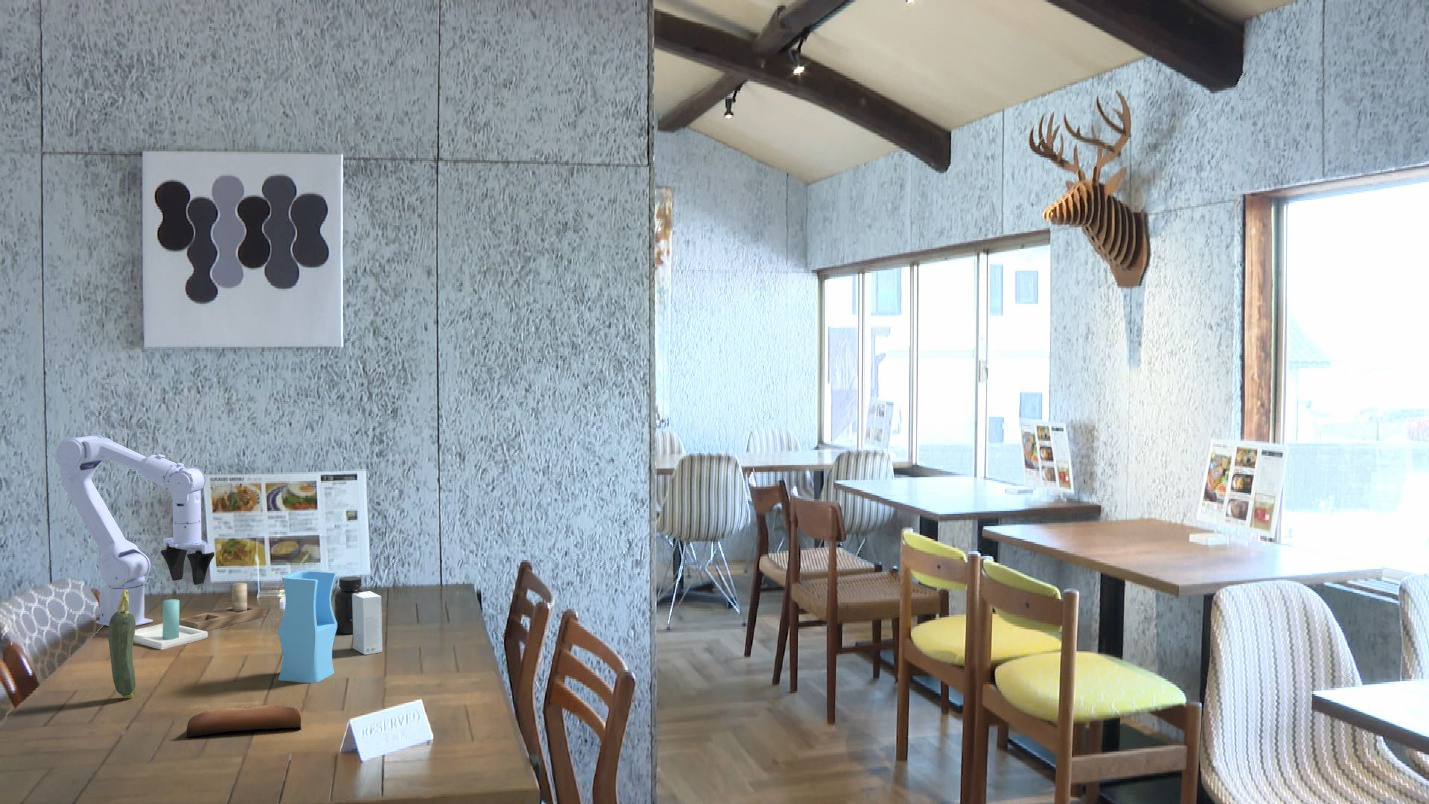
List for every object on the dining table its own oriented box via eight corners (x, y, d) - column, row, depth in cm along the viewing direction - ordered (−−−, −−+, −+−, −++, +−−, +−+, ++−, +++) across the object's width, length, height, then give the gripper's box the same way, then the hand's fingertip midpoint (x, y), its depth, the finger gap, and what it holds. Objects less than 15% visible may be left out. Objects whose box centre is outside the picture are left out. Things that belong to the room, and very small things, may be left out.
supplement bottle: (359, 635, 252) (359, 582, 252) (329, 634, 253) (329, 581, 252) (369, 627, 259) (369, 575, 259) (339, 626, 259) (340, 574, 259)
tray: (120, 639, 244) (120, 633, 244) (167, 628, 254) (167, 622, 254) (161, 649, 238) (161, 643, 237) (207, 638, 247) (207, 631, 247)
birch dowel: (229, 618, 264) (229, 584, 263) (240, 615, 267) (240, 582, 266) (238, 620, 262) (238, 586, 262) (249, 617, 265) (250, 583, 265)
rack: (197, 632, 251) (197, 623, 251) (177, 628, 255) (177, 619, 254) (265, 616, 267) (265, 607, 267) (246, 612, 270) (246, 603, 270)
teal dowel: (159, 638, 244) (159, 601, 244) (172, 634, 247) (172, 598, 246) (168, 640, 243) (169, 603, 242) (182, 637, 246) (182, 600, 245)
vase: (315, 683, 218) (315, 580, 216) (278, 680, 219) (278, 577, 218) (336, 672, 225) (337, 572, 224) (300, 668, 227) (301, 569, 226)
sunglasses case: (303, 713, 200) (302, 687, 197) (302, 745, 195) (301, 719, 191) (192, 722, 195) (189, 695, 191) (187, 755, 189) (184, 728, 186)
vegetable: (124, 704, 203) (123, 593, 202) (103, 702, 204) (102, 592, 203) (141, 696, 208) (140, 588, 206) (120, 694, 208) (119, 586, 207)
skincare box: (383, 652, 240) (383, 595, 239) (362, 655, 237) (363, 598, 236) (371, 645, 245) (372, 590, 244) (351, 649, 242) (351, 592, 241)
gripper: (150, 521, 255) (151, 581, 256) (192, 527, 248) (192, 589, 248) (178, 517, 261) (179, 575, 262) (220, 523, 254) (220, 583, 254)
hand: (188, 581), depth 255 cm, fingers open, 7 cm apart
